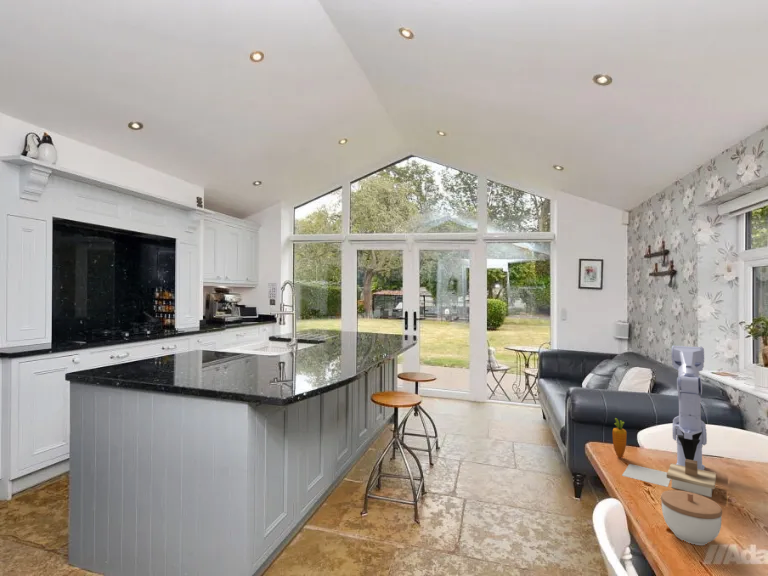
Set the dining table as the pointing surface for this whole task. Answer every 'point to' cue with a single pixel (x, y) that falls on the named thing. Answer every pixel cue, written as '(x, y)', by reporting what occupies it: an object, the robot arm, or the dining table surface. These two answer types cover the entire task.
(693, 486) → the cream dish
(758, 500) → the dining table surface
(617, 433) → the carrot
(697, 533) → the lidded bowl
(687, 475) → the oak lid
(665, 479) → the rubber mat
